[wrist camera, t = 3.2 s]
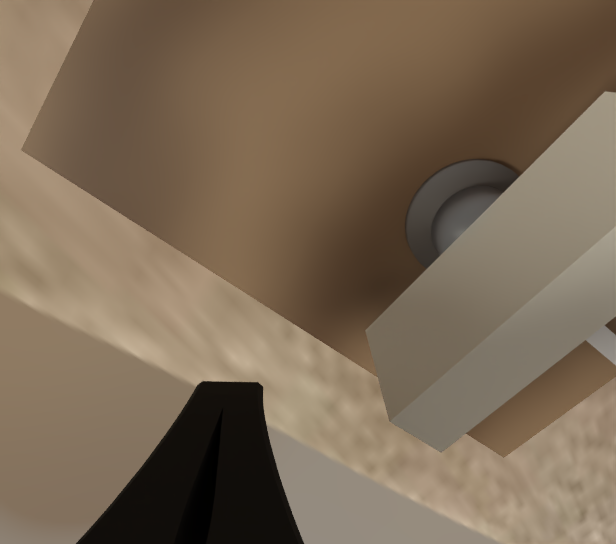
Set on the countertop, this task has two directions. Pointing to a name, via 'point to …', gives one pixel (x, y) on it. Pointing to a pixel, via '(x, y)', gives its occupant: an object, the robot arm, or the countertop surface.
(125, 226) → the countertop surface
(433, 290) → the tuning key
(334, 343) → the brown dial board
